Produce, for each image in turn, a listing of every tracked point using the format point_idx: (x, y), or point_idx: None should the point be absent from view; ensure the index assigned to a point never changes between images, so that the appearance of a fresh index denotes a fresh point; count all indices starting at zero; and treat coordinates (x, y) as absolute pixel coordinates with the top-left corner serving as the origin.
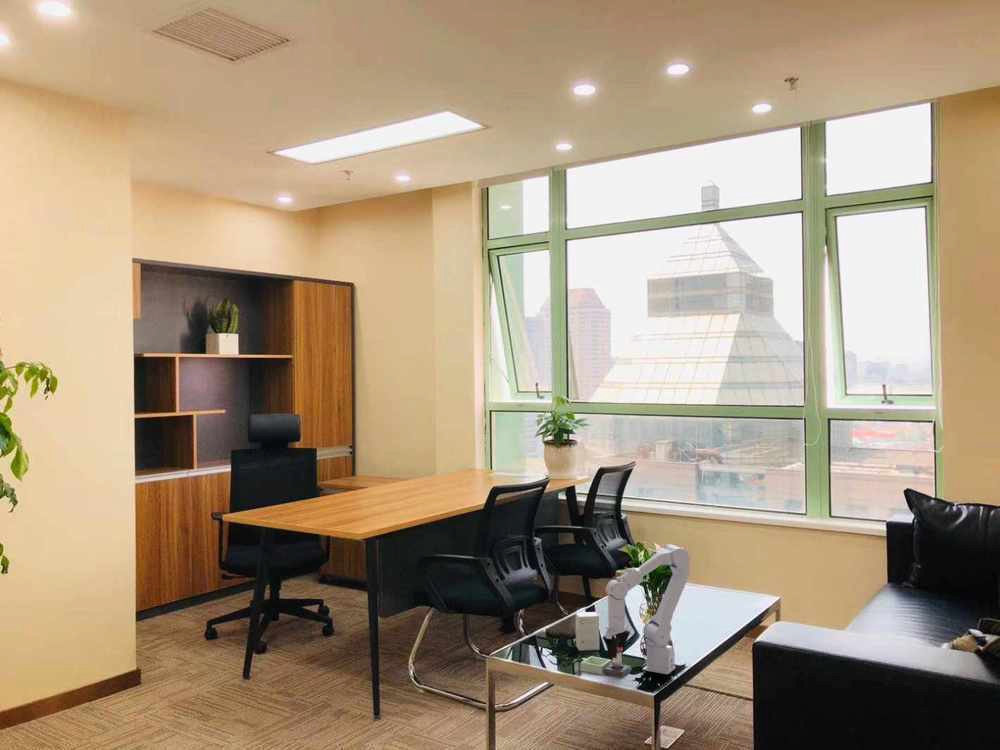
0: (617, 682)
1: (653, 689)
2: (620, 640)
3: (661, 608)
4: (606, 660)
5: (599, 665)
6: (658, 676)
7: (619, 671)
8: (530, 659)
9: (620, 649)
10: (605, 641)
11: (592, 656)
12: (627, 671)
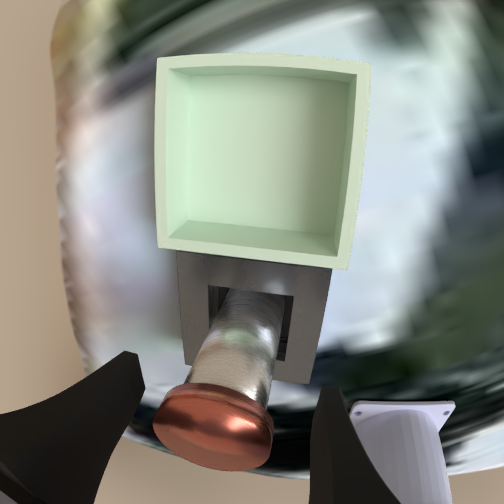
0: (125, 331)
1: (152, 437)
2: (320, 491)
3: None
4: (341, 226)
5: (158, 226)
6: (296, 448)
7: (184, 349)
8: None
9: (190, 454)
10: (6, 424)
11: (370, 79)
12: None
